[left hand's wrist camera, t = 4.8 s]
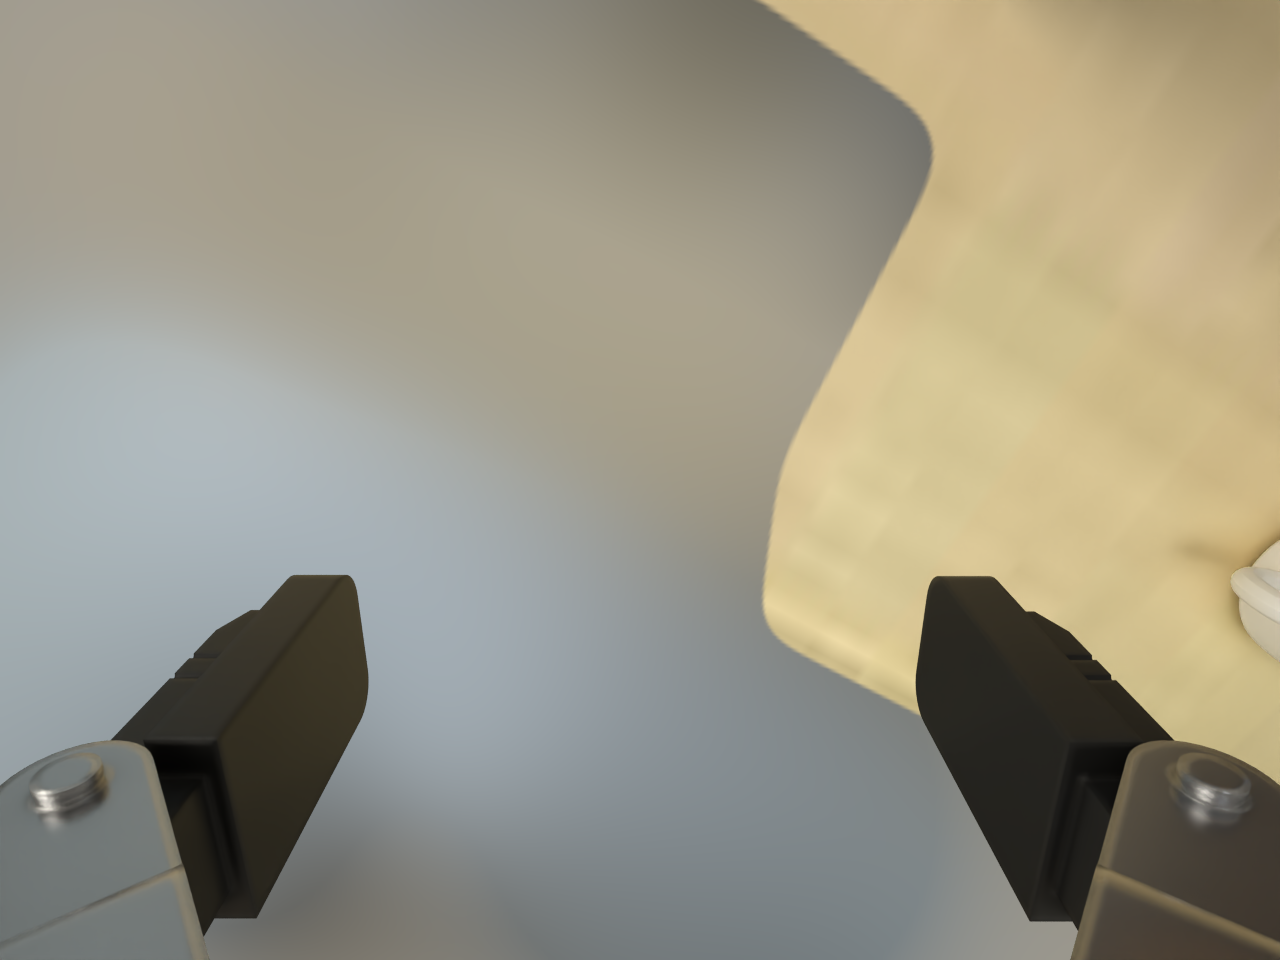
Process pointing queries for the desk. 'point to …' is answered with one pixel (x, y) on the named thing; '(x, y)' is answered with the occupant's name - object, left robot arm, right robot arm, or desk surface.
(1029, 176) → the desk surface
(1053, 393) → the desk surface
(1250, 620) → the mug
